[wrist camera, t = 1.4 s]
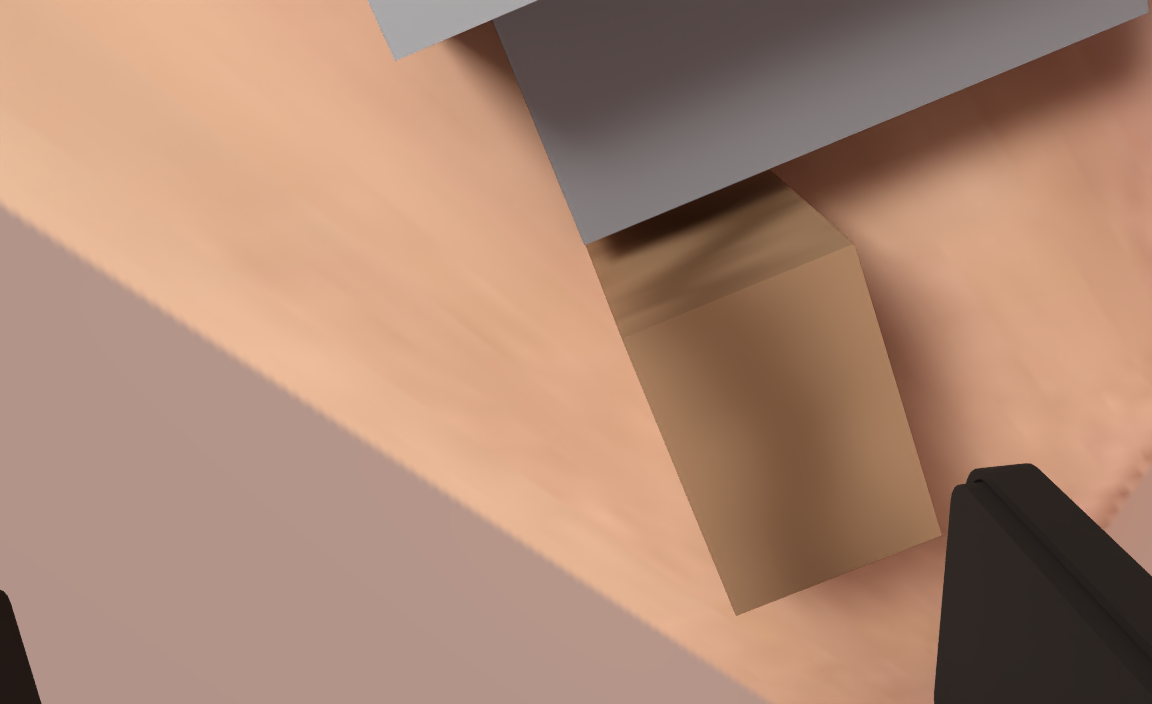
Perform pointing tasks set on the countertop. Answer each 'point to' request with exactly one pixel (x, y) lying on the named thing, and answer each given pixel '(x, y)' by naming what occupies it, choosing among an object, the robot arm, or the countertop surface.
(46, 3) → the countertop surface
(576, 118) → the wall board
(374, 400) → the countertop surface
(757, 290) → the tan wooden block
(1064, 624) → the robot arm
